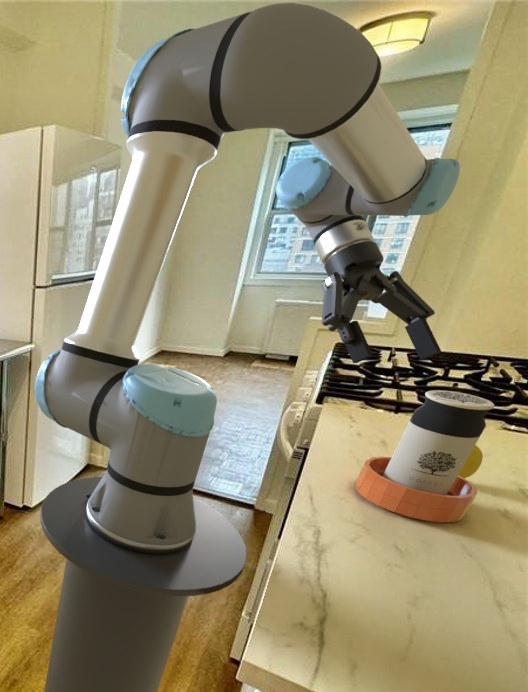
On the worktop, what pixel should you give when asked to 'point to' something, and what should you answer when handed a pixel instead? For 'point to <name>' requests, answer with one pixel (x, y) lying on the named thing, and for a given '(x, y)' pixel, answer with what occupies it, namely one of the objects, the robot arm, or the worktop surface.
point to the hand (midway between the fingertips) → (397, 357)
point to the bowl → (413, 495)
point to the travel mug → (438, 441)
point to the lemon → (472, 463)
